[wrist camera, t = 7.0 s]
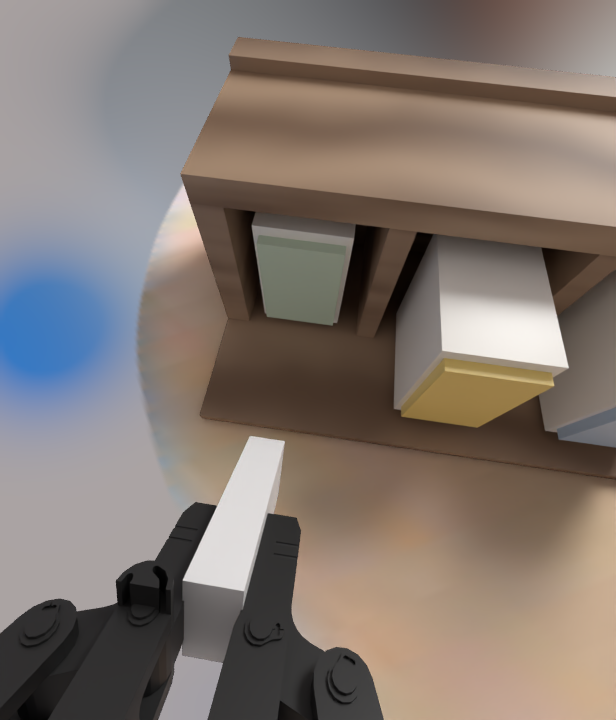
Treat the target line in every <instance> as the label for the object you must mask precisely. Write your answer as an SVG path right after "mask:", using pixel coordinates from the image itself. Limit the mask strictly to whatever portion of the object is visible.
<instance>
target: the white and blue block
mask: <svg viewBox="0 0 616 720" xmlns="http://www.w3.org/2000/svg"><path fill="white" fill-rule="evenodd" d="M557 319H558V323H559V327H560V332H561V336H562V340H563V345H564V349H565V353H566V358H567V362H568V366H569V368H568V369H567V370H565V371H563V372H561V373H560V374H558V375H556V376H554V377H553V381H554V387H552V388H550V389H548V390H546V391H545V392H543V393H541V394H539V400H540V405H541V411H542V417H543V422H544V428H545V431H550V432H557V434H558V439H559V440H566V441H573V442H580V443H587V444H594V445H601V446H608V447H615V448H616V269H615V270H614V271H613V272H612V273H610V274H609V275H608V276H607V277H605V278H604V279H603V280H602V281H600V282H599V283H598V284H597V285H595V286H594V287H593V288H592V289H590V290H589V291H588V292H587V293H585V294H584V295H583V296H582V297H580V298H579V299H578V300H577V301H575V302H574V303H573V304H572V305H570V306H569V307H568V308H567V309H565V310H564V311H563V312H562V313H560V314H559V315H558V316H557Z"/></svg>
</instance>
